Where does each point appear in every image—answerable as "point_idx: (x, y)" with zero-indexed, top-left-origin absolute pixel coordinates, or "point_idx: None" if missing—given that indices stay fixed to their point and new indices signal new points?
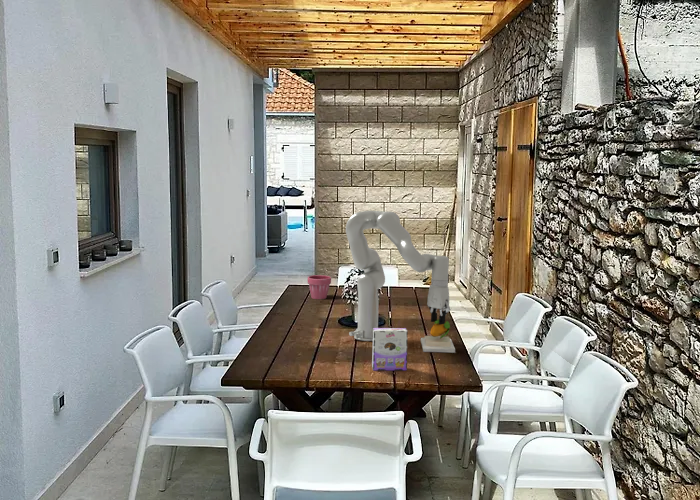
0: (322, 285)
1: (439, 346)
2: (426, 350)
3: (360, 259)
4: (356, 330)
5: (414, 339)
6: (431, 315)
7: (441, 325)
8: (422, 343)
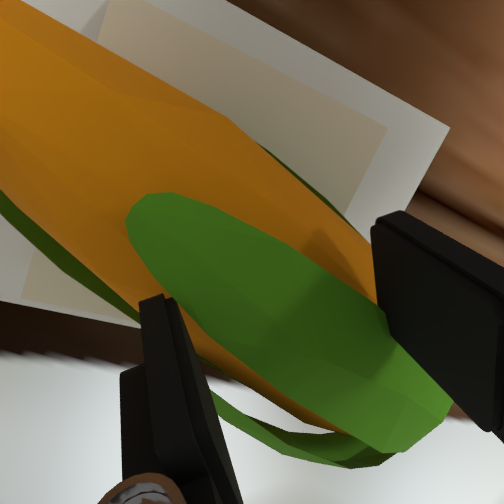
0: None
1: None
2: None
3: None
4: None
5: (490, 88)
6: (485, 268)
7: (186, 325)
8: (240, 11)
